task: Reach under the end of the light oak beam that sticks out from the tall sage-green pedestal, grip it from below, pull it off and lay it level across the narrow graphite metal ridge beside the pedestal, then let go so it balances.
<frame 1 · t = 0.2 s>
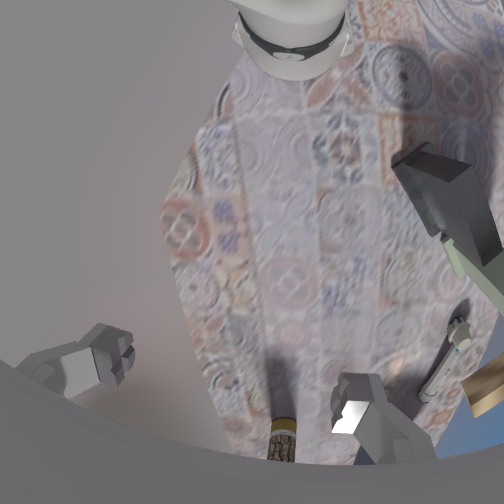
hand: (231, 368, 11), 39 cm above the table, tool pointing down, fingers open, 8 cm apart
pedestal: (465, 245, 45), on the table
ridge: (429, 189, 42), on the table
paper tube: (284, 422, 71), on the table
light grey brush: (440, 357, 56), on the table
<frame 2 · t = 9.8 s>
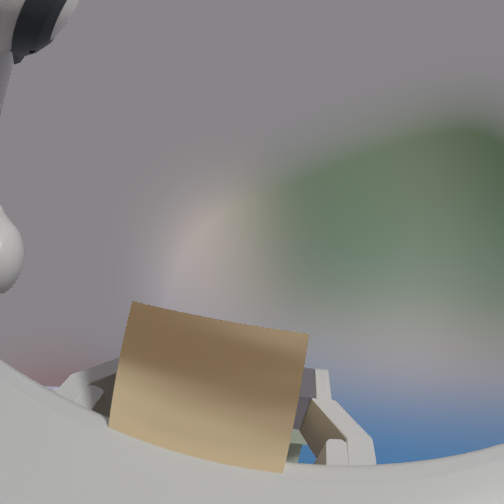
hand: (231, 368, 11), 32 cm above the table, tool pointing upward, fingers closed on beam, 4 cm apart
beam: (236, 411, 16), point 28 cm above the table, tilted 10°, touching gripper
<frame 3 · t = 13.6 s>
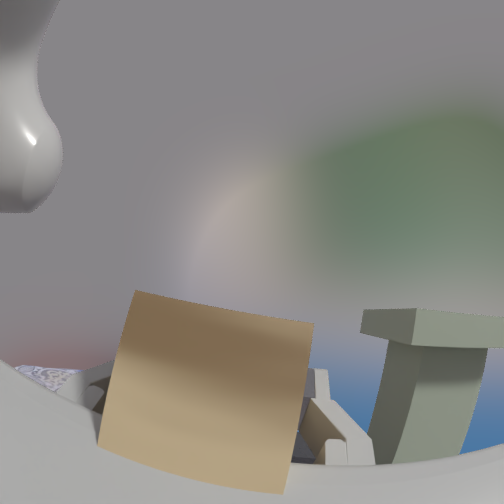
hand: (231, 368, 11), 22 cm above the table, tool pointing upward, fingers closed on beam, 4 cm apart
beam: (230, 428, 15), point 18 cm above the table, tilted 17°, touching gripper
when the fingers open (20 cm above the table, at t = 14.7 s): beam stays where it is, resting on ridge.
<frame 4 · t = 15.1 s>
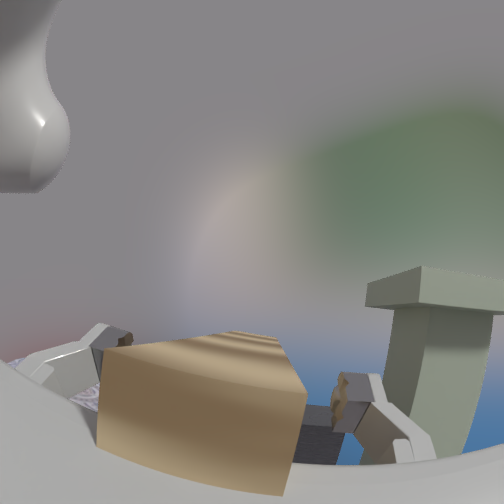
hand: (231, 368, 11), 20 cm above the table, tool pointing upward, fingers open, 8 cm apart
beam: (235, 405, 16), point 17 cm above the table, touching ridge
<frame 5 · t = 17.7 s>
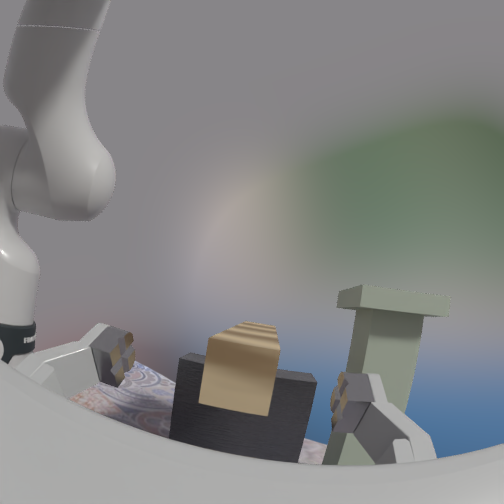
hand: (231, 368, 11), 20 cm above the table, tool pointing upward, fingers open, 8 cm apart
pedestal: (341, 497, 25), on the table
ridge: (224, 495, 25), on the table
beam: (248, 369, 27), point 16 cm above the table, touching ridge
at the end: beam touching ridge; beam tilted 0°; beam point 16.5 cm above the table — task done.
